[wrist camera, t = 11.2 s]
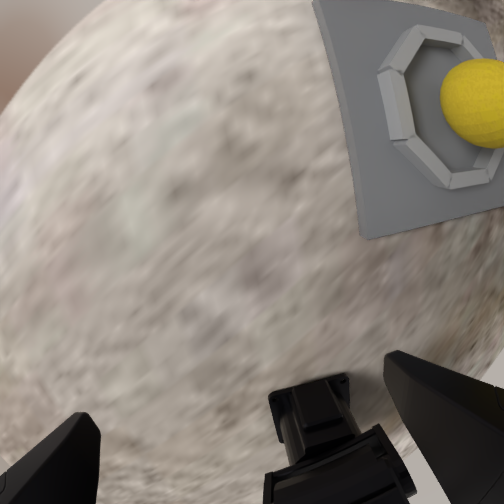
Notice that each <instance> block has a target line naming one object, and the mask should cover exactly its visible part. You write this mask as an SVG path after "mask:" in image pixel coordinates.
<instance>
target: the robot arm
mask: <svg viewBox="0 0 504 504" xmlns="http://www.w3.org/2000/svg"><path fill="white" fill-rule="evenodd" d="M383 377H384V381H385V384H386V386H387V388H388V390H389V392H390V395H391V397H392V399H393V401H394V403H395V406H396V408H397V410H398V412H399V414H400V417H401V419H402V421H403V423H404V424H405V426H406V428H407V429H408V431H409V433H410V434H411V436H412V438H413V439H414V441H415V443H416V444H417V446H418V448H419V449H420V451H421V453H422V454H423V456H424V458H425V459H426V461H427V463H428V464H429V466H430V468H431V469H432V471H433V473H434V475H435V476H436V478H437V480H438V482H439V483H440V485H441V487H442V489H443V490H444V492H445V494H446V496H447V497H448V499H449V501H450V503H451V504H504V389H502V388H499V387H497V386H496V387H494V386H493V385H491V384H488V383H485V382H482V381H479V380H477V379H474V378H471V377H468V376H466V375H463V374H460V373H457V372H455V371H452V370H449V369H447V368H444V367H441V366H439V365H436V364H433V363H431V362H428V361H426V360H423V359H420V358H418V357H415V356H413V355H410V354H407V353H405V352H402V351H400V350H395V351H393V352H390V353H387V354H386V355H385V357H384V372H383ZM342 379H344V380H342ZM341 380H342V381H341ZM273 398H275V399H273ZM268 400H269V404H270V408H271V412H272V416H273V420H274V424H275V428H276V431H277V435H278V439H279V442H280V443H284V444H285V448H286V452H287V456H288V460H289V464H290V466H289V467H286V468H284V469H281V470H278V471H275V472H269V473H266V474H265V481H264V491H263V504H410V503H409V501H408V499H407V498H409V497H411V496H413V495H415V494H417V490H416V487H415V485H414V482H413V480H412V478H411V476H410V474H409V472H408V470H407V468H406V466H405V464H404V462H403V461H402V459H401V457H400V455H399V454H398V452H397V451H396V449H395V448H394V446H393V444H392V443H391V441H390V440H389V438H388V437H387V435H386V433H385V432H384V430H383V429H382V427H381V426H380V424H377V425H375V426H373V427H372V429H370V430H368V431H366V432H364V433H361V431H360V429H359V427H358V425H357V423H356V421H355V419H354V417H353V415H352V413H351V411H350V396H349V378H348V376H347V375H346V374H344V373H343V374H339V375H336V376H333V377H329V378H326V379H322V380H319V381H315V382H312V383H308V384H304V385H300V386H297V387H293V388H289V389H285V390H280V391H276V392H272V393H270V394H269V395H268ZM100 443H101V433H100V430H99V428H98V427H97V425H96V424H95V423H94V421H93V420H92V418H91V417H90V415H89V414H88V413H86V412H76V413H74V414H73V415H71V416H70V417H69V418H68V419H67V420H66V421H64V422H63V423H62V424H61V425H60V426H59V427H57V428H56V429H55V430H54V431H53V432H52V433H50V434H49V435H48V436H47V437H46V438H44V439H43V440H42V441H41V442H40V443H39V444H37V445H36V446H35V447H34V448H33V449H32V450H30V451H29V452H28V453H27V454H26V455H24V456H23V457H22V458H21V459H20V460H19V461H17V462H16V463H15V464H14V465H13V466H11V467H10V468H9V469H8V470H7V472H4V473H3V474H2V475H1V476H0V504H96V497H97V489H98V481H99V467H100Z"/></svg>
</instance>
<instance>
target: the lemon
mask: <svg viewBox="0 0 504 504" xmlns="http://www.w3.org/2000/svg"><path fill="white" fill-rule="evenodd" d="M440 104H441V109H442V112H443V115H444V117H445V119H446V121H447V123H448V124H449V125H450V127H451V128H452V130H453V131H454V132H455V133H456V134H457V135H459V136H460V137H461V138H463V139H464V140H466V141H468V142H469V143H471V144H473V145H477V146H481V147H485V148H492V149H497V148H504V62H502V61H499V60H495V59H486V58H482V59H472V60H467V61H464V62H462V63H460V64H459V65H457V66H455V67H454V68H452V69H451V70H450V71H449V72H448V74H447V75H446V77H445V78H444V80H443V82H442V86H441V89H440Z"/></svg>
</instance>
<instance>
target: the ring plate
mask: <svg viewBox="0 0 504 504" xmlns="http://www.w3.org/2000/svg"><path fill="white" fill-rule="evenodd" d="M312 5H313V8H314V11H315V15H316V18H317V21H318V24H319V28H320V31H321V34H322V38H323V41H324V45H325V49H326V52H327V56H328V60H329V64H330V68H331V72H332V76H333V80H334V84H335V88H336V93H337V97H338V101H339V106H340V111H341V116H342V120H343V126H344V131H345V136H346V141H347V147H348V153H349V158H350V165H351V171H352V177H353V184H354V191H355V198H356V206H357V214H358V223H359V232H360V236H362V237H363V238H365V239H367V240H370V239H374V238H378V237H382V236H386V235H390V234H395V233H399V232H403V231H407V230H411V229H415V228H419V227H423V226H427V225H431V224H435V223H439V222H443V221H447V220H451V219H455V218H459V217H463V216H467V215H470V214H474V213H478V212H482V211H486V210H490V209H494V208H498V207H501V206H504V148H497V149H492V148H485V147H481V146H477V145H473V144H471V143H469V142H468V141H466V140H464V139H463V138H461V137H460V136H459V135H457V134H456V133H455V132H454V131H453V130H452V128H451V127H450V125H449V124H448V123H447V121H446V119H445V117H444V115H443V112H442V109H441V104H440V89H441V86H442V82H443V80H444V78H445V77H446V75H447V74H448V72H449V71H450V70H451V69H452V68H454V67H455V66H457V65H459V64H460V63H462V62H464V61H467V60H472V59H482V58H486V59H495V60H497V58H496V55H495V51H494V48H493V45H492V42H491V39H490V36H489V33H488V30H487V27H486V24H485V23H483V22H480V21H477V20H474V19H471V18H468V17H464V16H461V15H457V14H454V13H450V12H446V11H442V10H438V9H434V8H429V7H425V6H420V5H414V4H409V3H403V2H397V1H390V0H313V2H312Z"/></svg>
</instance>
